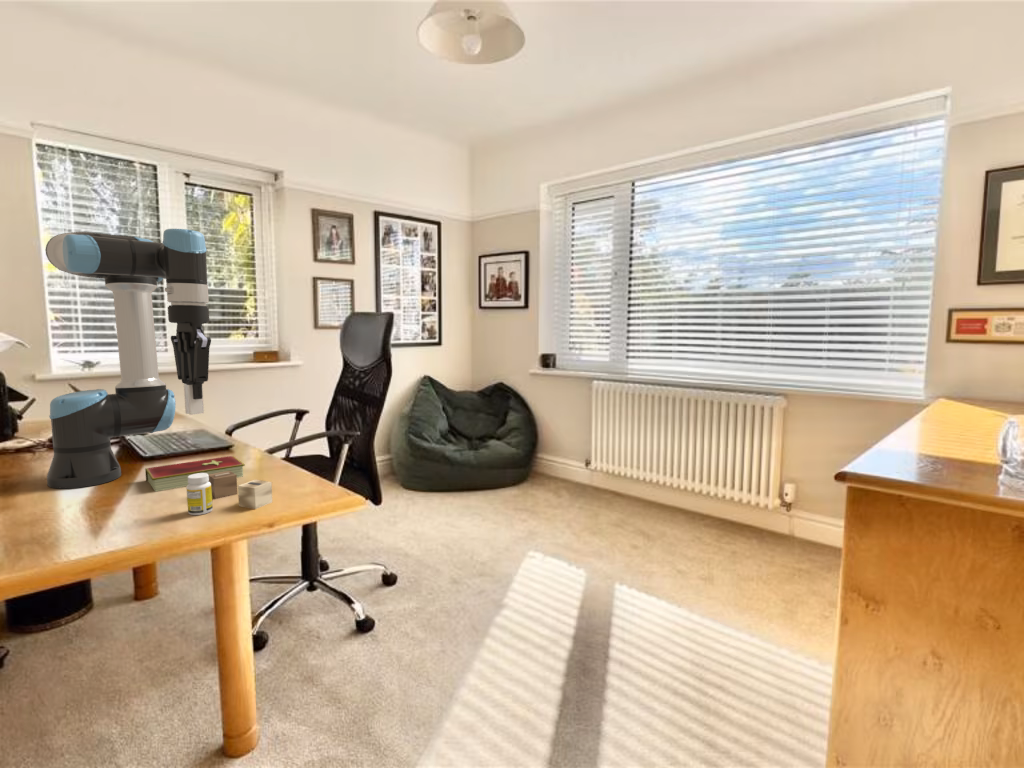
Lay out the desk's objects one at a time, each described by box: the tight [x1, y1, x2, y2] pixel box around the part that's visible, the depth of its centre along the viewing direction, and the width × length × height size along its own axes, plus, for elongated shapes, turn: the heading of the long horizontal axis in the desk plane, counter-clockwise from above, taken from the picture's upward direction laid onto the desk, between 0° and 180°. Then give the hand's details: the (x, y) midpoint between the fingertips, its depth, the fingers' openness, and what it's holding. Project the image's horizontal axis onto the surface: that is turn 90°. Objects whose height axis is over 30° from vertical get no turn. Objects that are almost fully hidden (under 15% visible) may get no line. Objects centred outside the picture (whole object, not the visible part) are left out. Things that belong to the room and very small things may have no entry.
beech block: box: [237, 479, 273, 510], centre depth 123 cm, size 5×5×5 cm
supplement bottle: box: [186, 473, 213, 516], centre depth 117 cm, size 5×5×8 cm
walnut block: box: [208, 471, 238, 500], centre depth 129 cm, size 5×5×5 cm
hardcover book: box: [144, 455, 245, 493], centre depth 141 cm, size 12×21×4 cm, turn 132°
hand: (194, 413), depth 115 cm, fingers closed
